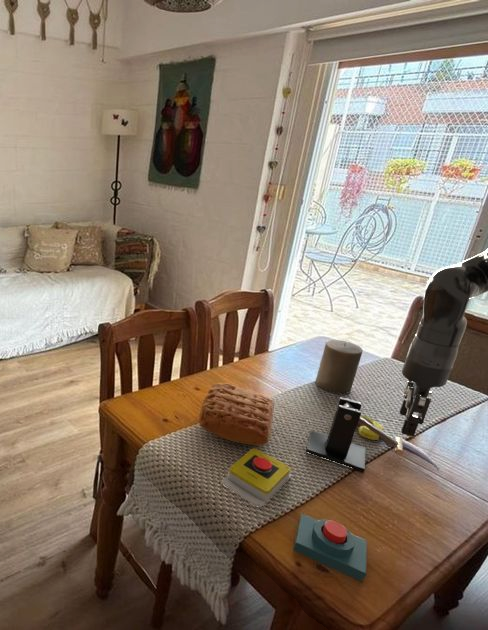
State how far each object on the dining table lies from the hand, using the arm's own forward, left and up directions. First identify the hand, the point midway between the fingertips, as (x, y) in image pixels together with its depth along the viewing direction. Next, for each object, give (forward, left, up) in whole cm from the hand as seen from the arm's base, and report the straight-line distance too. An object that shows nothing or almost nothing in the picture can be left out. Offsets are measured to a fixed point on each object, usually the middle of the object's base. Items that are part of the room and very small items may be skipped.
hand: (405, 424), depth 96 cm
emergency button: (+25, +21, -13) cm, 35 cm away
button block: (+10, +32, -13) cm, 36 cm away
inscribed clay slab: (+34, +4, -13) cm, 36 cm away
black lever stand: (+11, 0, -13) cm, 17 cm away
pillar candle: (+14, -35, -13) cm, 40 cm away
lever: (+6, 0, -4) cm, 7 cm away
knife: (+1, -12, -13) cm, 18 cm away
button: (+10, +32, -9) cm, 35 cm away
